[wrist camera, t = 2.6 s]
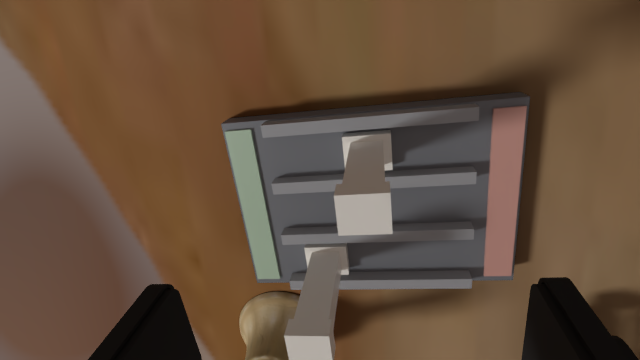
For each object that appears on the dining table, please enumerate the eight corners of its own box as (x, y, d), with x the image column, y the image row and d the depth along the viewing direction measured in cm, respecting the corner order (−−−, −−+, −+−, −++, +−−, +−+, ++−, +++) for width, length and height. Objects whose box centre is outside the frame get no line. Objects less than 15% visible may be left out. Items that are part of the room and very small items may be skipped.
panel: (521, 91, 23) (536, 100, 21) (506, 267, 28) (517, 289, 26) (229, 118, 26) (215, 127, 24) (262, 270, 31) (253, 290, 29)
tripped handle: (390, 129, 24) (397, 187, 16) (392, 165, 24) (399, 237, 16) (342, 133, 24) (326, 191, 16) (346, 168, 25) (332, 239, 17)
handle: (346, 240, 27) (334, 333, 19) (349, 267, 28) (339, 367, 20) (306, 241, 28) (277, 332, 20) (310, 268, 29) (285, 365, 21)
